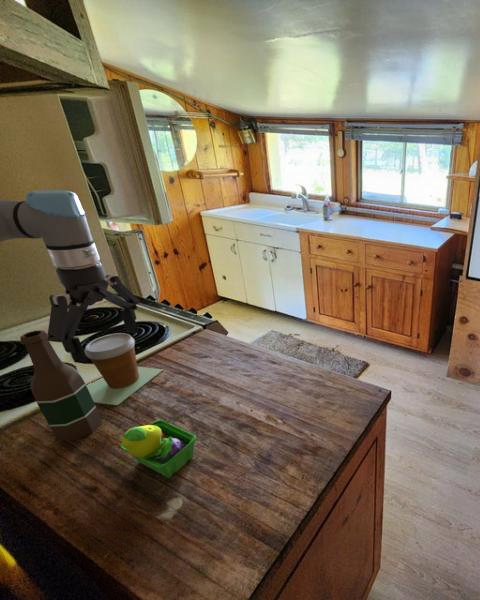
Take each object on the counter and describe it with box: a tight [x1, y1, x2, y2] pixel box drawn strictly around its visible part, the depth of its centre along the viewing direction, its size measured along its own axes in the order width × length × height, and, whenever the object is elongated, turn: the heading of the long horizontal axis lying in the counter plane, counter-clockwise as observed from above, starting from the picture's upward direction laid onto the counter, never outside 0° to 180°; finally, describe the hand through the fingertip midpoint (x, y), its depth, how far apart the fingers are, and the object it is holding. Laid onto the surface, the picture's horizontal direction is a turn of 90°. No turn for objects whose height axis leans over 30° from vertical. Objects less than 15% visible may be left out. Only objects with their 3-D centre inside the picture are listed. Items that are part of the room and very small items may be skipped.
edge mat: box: [86, 366, 164, 407], centre depth 84 cm, size 14×14×1 cm
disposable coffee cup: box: [84, 332, 139, 389], centre depth 82 cm, size 10×10×12 cm
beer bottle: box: [19, 329, 103, 442], centre depth 65 cm, size 8×8×24 cm
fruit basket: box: [120, 419, 197, 479], centre depth 62 cm, size 11×9×11 cm
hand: (109, 346), depth 80 cm, fingers open, 13 cm apart
